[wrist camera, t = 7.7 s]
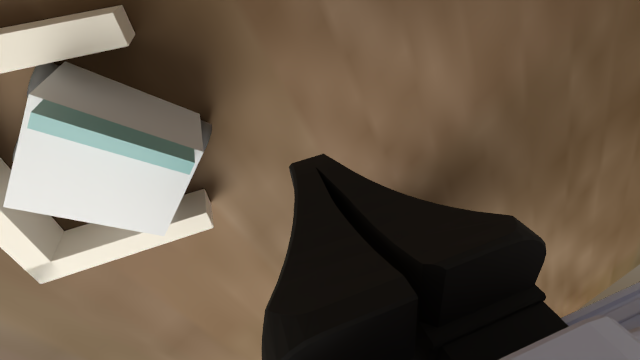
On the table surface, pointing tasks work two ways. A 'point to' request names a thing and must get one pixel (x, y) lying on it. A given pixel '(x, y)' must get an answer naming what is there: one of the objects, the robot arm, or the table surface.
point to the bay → (42, 230)
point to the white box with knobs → (103, 151)
